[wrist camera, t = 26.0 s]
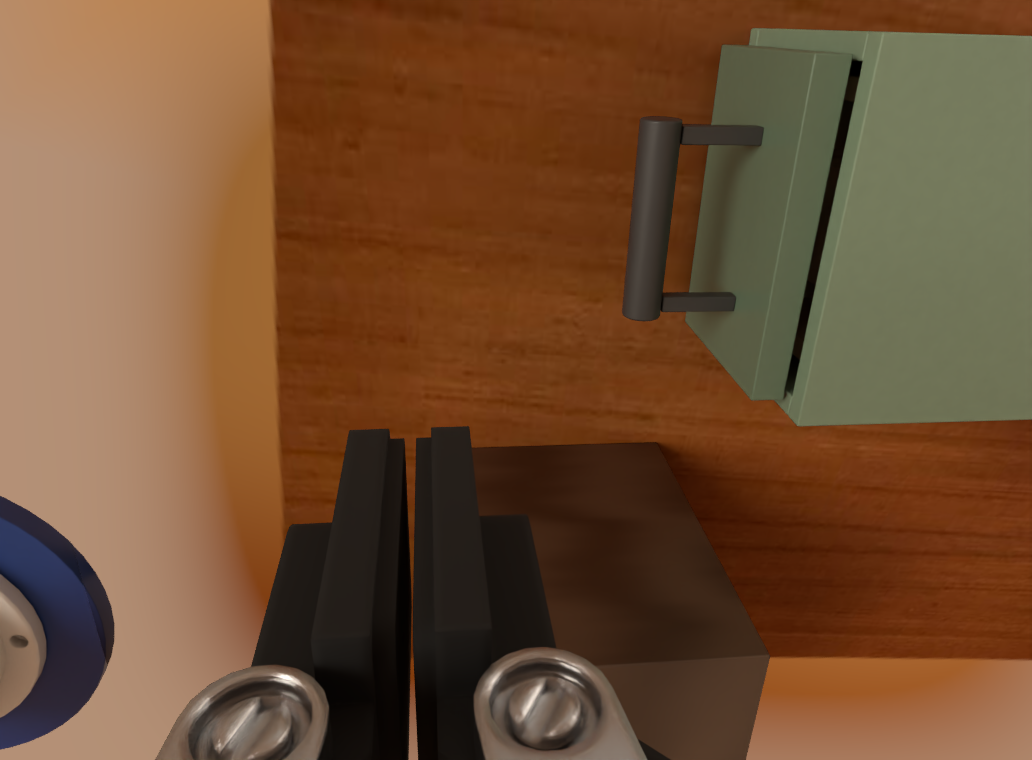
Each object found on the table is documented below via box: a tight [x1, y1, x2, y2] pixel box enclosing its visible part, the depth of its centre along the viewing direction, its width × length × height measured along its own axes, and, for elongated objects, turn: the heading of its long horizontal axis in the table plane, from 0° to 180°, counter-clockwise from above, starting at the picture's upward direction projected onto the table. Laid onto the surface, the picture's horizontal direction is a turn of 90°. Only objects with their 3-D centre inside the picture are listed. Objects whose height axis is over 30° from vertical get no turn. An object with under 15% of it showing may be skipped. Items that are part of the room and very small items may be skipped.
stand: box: [472, 442, 770, 760], centre depth 33 cm, size 10×10×14 cm
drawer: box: [622, 45, 861, 400], centre depth 28 cm, size 18×11×8 cm, turn 88°
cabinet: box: [749, 28, 1032, 426], centre depth 28 cm, size 15×13×10 cm
